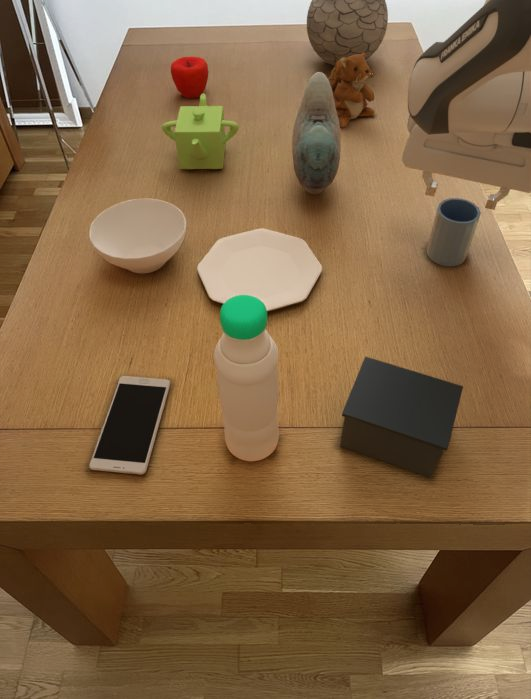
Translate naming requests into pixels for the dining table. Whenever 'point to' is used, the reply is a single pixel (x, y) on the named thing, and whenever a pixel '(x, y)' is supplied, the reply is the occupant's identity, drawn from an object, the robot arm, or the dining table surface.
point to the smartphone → (130, 425)
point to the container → (400, 416)
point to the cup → (452, 231)
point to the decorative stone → (316, 136)
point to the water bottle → (247, 379)
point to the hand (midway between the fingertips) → (459, 200)
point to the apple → (190, 76)
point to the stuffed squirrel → (351, 88)
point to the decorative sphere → (346, 27)
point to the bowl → (138, 234)
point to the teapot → (200, 135)
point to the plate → (260, 268)
